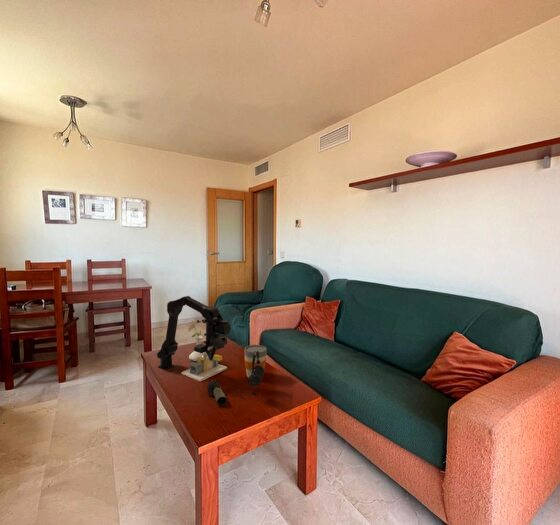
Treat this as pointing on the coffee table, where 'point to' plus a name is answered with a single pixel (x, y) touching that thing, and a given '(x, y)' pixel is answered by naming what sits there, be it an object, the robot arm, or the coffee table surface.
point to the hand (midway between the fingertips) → (211, 360)
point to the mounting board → (205, 373)
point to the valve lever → (216, 357)
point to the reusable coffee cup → (249, 356)
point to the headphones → (255, 372)
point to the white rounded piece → (198, 338)
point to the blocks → (202, 365)
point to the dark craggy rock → (216, 392)
